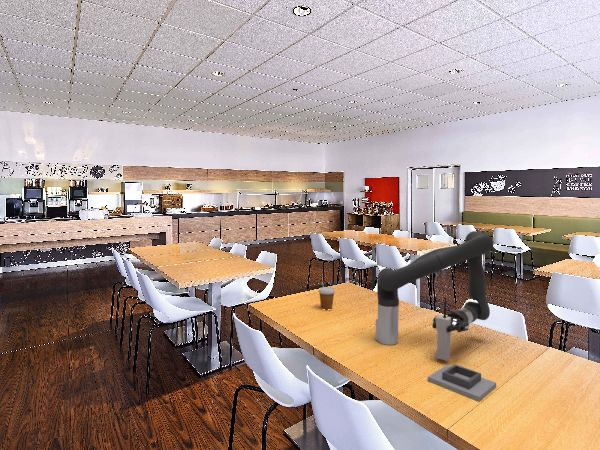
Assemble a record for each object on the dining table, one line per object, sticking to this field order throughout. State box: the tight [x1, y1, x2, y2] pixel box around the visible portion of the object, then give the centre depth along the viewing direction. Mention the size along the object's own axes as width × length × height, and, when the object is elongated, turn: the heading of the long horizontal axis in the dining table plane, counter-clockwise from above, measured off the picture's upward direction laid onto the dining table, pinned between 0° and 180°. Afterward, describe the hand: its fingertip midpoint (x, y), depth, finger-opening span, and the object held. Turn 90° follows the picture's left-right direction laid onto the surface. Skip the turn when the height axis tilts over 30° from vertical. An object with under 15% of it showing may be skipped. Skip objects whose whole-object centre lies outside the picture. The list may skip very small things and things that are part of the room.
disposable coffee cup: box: [318, 286, 336, 311], centre depth 217 cm, size 10×10×12 cm
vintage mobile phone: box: [434, 296, 452, 362], centre depth 148 cm, size 4×5×25 cm
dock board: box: [427, 363, 497, 402], centre depth 131 cm, size 18×14×4 cm
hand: (440, 328), depth 146 cm, fingers closed on vintage mobile phone, 5 cm apart
